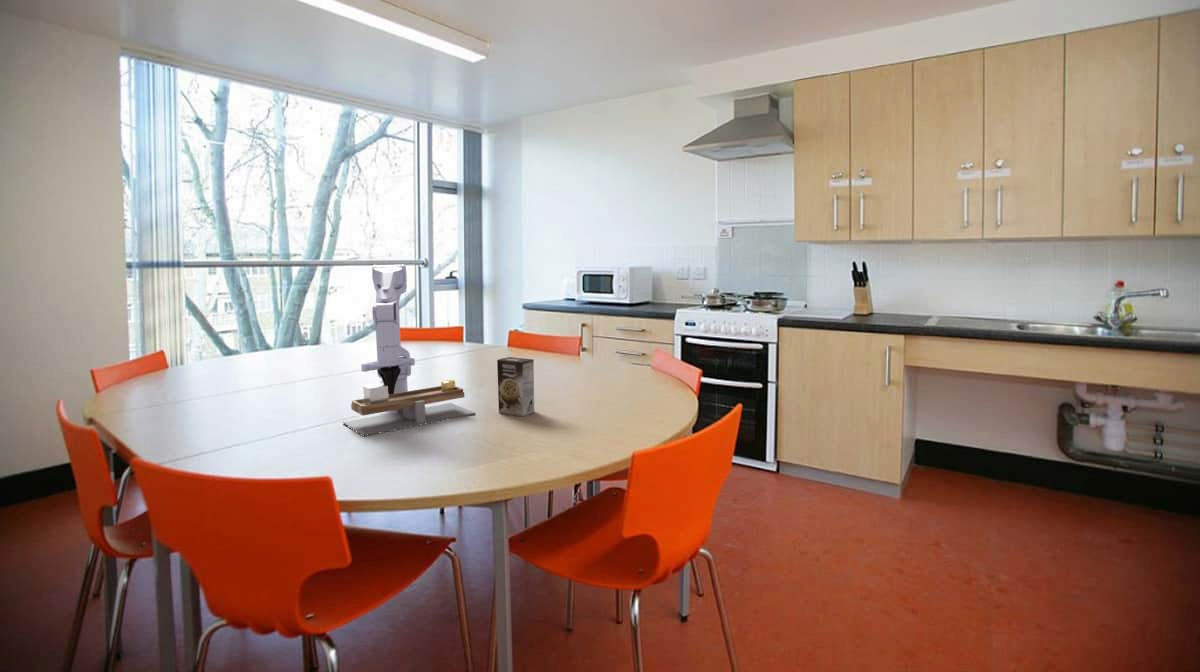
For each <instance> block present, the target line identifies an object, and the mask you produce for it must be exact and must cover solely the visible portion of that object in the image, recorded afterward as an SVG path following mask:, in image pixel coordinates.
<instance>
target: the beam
mask: <svg viewBox="0 0 1200 672" xmlns="http://www.w3.org/2000/svg"><path fill="white" fill-rule="evenodd" d="M388 397H389V401H388V402H382V403H376V404H370V405H367V404H365V403H364V398H359V399H353V400H351V404H350V408H351V411H354V412H355V413H357V414H359V415H361V416H368V415H375V414H379V413H380V414H381V413H384V412H390V411H396V410H397V409H402V408H408V407H413V406H415V402H416V401H422V400H423V401H425V405H428V404H435V403H440V402H447V401H451V400H457V399H463V398H465V397H466V396H465V392H464V388H463V387H459V386H456V385H455V390H452V391H446V392H442V387H441V385H438V386H432V387H426V388H421V389H419V388H418V389H415V390H408V391H407V392H401V393H395V394H389V395H388Z"/></svg>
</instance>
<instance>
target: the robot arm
mask: <svg viewBox="0 0 1200 672" xmlns="http://www.w3.org/2000/svg"><path fill="white" fill-rule="evenodd" d="M371 268H372V269H371V271H372V273H371V276H372V277H371V278H372V283H373V287H374V290H375V292H376V296H375V304H373V305H372V311H371V312H372V314H371V315H372V320H373V324H374V331H375V341H376V355H377V357H376V358H377V360H375V361H372V362H367V363H362V364H360V366H361V367H360V368H361V372H363V373H367V372H371V371H377V373H376V374H377V376H378V377H379V378H380V379H381V381H380V383H382V384H385V385H387V386H388V395H389V394H395V393H401V392H407V391H409V389H408V377H410V376H411V374H412V366H415V365H416V361H415V360H416V359H415V358H413V357H411V353H410V351H409V350H408V349H406V348H405V347H404V346H403V345H401V327H400V326H401V324H400V323H401V322H400V321H401V320H400V318H401V317H400V299H401V295H403V294H404V293H406V292H407V281H408V280H407V279H408V277H407V266H406V265H405V264H404V263H402V264H378V265H377V264H373V266H372V267H371Z"/></svg>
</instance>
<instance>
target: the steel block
mask: <svg viewBox="0 0 1200 672" xmlns="http://www.w3.org/2000/svg"><path fill="white" fill-rule="evenodd" d="M362 389H363V399H364V403H365V404H367V405H370V404H376V403H382V402H388V401H389V397H388V386H387V385H385V384H382V383H381V382H379V383H373V384H365V385H364V384H363V386H362Z"/></svg>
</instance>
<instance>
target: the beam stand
mask: <svg viewBox="0 0 1200 672" xmlns="http://www.w3.org/2000/svg"><path fill="white" fill-rule="evenodd" d="M475 415H476V412H475V411H472V410H470V409H467V408H465V407H463V406H460V405H457V404H454V403H452V402H449V403H448V402H447V403H443V404H438V405H437V404H436V405H431V406H427V407H426V404H425V401H423V400H422V401H416V402H415V406H413V407H408V408H402V409H397V410H395V412H391V413H387V414H381V415H374V416H369V417H364V418H358V419H352V420H345V421H342V424H343V423H344V424H346V425H347V426H349V427H350V428H352V429H354V430H355V431H357V432H358V433H360V434H362V435H367V434H373V435H375V434H374V433H378V434H380V433H379V432H383V433H386V432H385V431H388V432H391V431H390V430H394V429H399V430H401V429H400V428H404V427H409V428H411V427H410V426H414V427H416V426H415V425H419V426H421V425H420V424H424V425H426V424H425V423H430V424H432V423H431V422H435V423H438V422H437V421H440V422H443V421H442V420H445V421H448V420H447V419H450V420H454V418H455V419H459V417H460V418H465V416H466V417H469V416H475ZM344 424H343V425H344ZM347 426H346V427H347ZM350 428H349V429H350ZM352 429H351V430H352ZM404 429H405V428H404ZM355 431H354V432H355ZM394 431H395V430H394ZM358 433H357V434H358ZM360 434H359V435H360Z"/></svg>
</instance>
